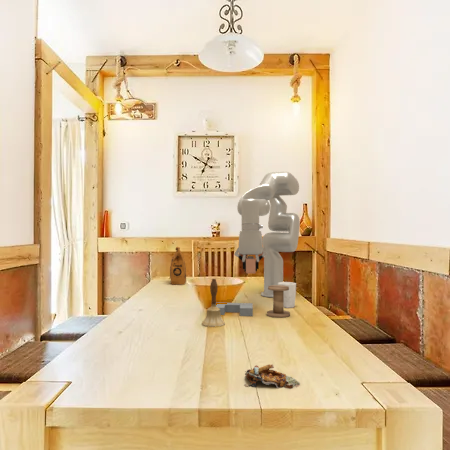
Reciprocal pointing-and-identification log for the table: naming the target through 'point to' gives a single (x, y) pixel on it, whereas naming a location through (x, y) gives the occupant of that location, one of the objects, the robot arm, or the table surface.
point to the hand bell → (213, 309)
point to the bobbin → (278, 302)
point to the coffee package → (178, 268)
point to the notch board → (236, 308)
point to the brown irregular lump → (270, 377)
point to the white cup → (289, 294)
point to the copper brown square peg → (250, 265)
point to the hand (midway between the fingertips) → (250, 270)
